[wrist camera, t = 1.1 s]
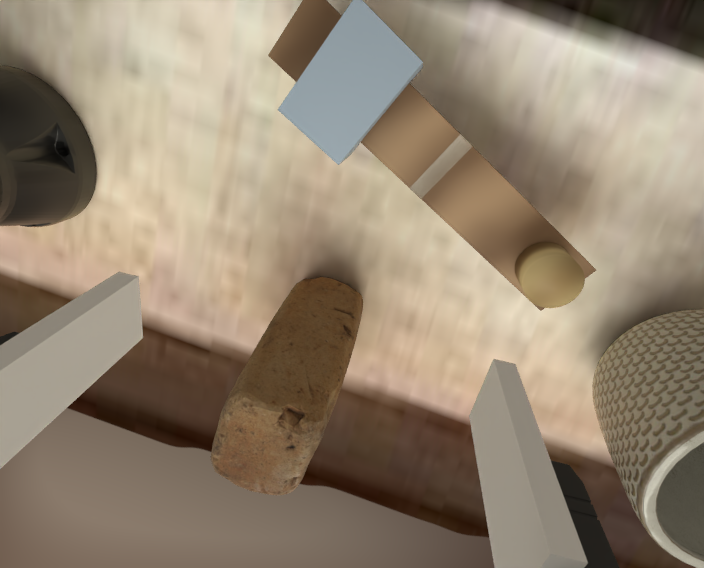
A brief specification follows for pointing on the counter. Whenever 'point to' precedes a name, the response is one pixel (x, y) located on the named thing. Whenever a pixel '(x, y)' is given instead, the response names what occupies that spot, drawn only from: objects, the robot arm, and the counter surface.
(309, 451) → the block
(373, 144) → the beam
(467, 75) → the counter surface
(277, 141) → the counter surface
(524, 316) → the counter surface
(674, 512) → the planter
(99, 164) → the counter surface
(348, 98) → the rider
